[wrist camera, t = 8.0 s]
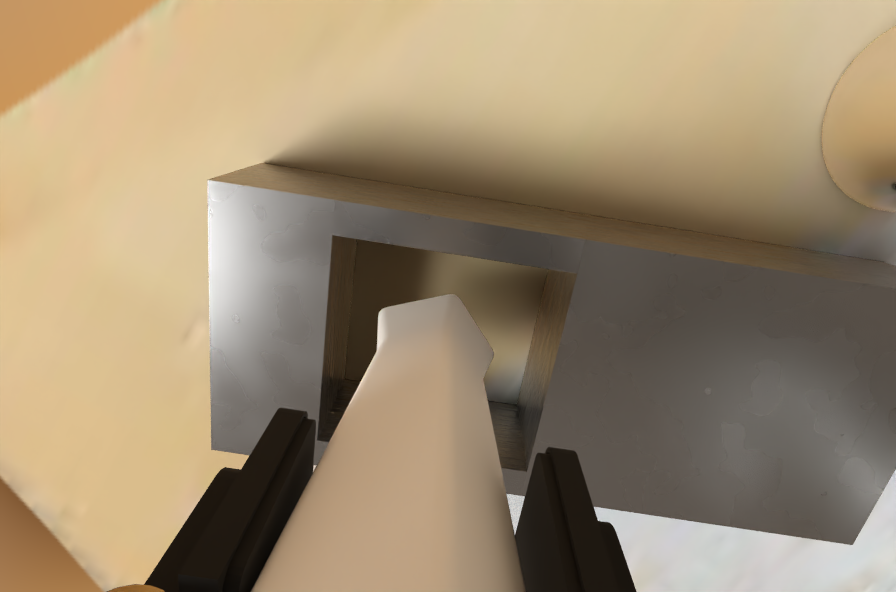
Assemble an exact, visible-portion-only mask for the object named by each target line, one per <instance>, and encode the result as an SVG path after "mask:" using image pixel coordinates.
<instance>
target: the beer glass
mask: <svg viewBox="0 0 896 592" xmlns="http://www.w3.org/2000/svg"><path fill="white" fill-rule="evenodd" d="M822 153H823V158H824V162H825V165H826V168H827V170H828V172H829V174H830V176H831V178H832V179H833V181H834V182H835V184H836V185H837V186H838V187H839V188H840V189H841V191H843V192H844V193H845V194H846V195H847V196H849V197H850V198H851V199H853V200H855V201H856V202H858V203H860V204H862V205H864V206H867V207H870V208H873V209H877V210H882V211H887V212H896V25H895V26H894V27H892V28H890V29H889V30H887V31H886V32H884V33H883V34H881V35H880V36H879V37H877V38H876V39H875V40H874V41H872V42H871V43H870V44H869V45H868V46H867V47H866V48H865V49H864V50H863V51H862V52H861V53H860V54H859V55H858V56H857V57H856V58H855V59H854V60H853V61H852V63H851V64H850V65H849V67H848V68H847V69H846V71H845V72H844V73H843V75H842V77H841V78H840V80H839V81H838V83H837V85H836V87H835V89H834V91H833V93H832V95H831V97H830V100H829V103H828V105H827V108H826V112H825V116H824V120H823V126H822Z"/></svg>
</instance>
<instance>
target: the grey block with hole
mask: <svg viewBox="0 0 896 592" xmlns="http://www.w3.org/2000/svg"><path fill="white" fill-rule="evenodd" d="M357 239H360V240H366V241H373V242H379V243H385V244H392V245H398V246H405V247H411V248H417V249H424V250H430V251H436V252H443V253H449V254H455V255H462V256H468V257H475V258H481V259H487V260H494V261H500V262H506V263H513V264H519V265H526V266H532V267H538V268H545V269H548V273H547V277H546V282H545V286H544V290H543V294H542V299H541V303H540V307H539V312H538V316H537V320H536V325H535V329H534V333H533V337H532V342H531V346H530V350H529V355H528V359H527V363H526V368H525V372H524V376H523V381H522V385H521V389H520V393H519V398H518V402H517V405H511V404H504V403H498V402H491V401H488V405H489V410H490V415H491V420H492V425H493V430H494V435H495V440H496V445H497V450H498V455H499V460H500V465H501V470H502V475H503V480H504V485H505V490H506V493H507V494H513V495H520V496H525V495H526V491H527V488H528V484H529V480H530V476H531V472H532V468H533V464H534V460H535V457H536V454H537V453H545V451H546V449H547V448H548V447H553V448H560V449H567V450H573V451H575V452H576V453H577V455H578V459H579V462H580V465H581V468H582V472H583V475H584V478H585V481H586V484H587V488H588V491H589V494H590V497H591V501H592V504H593V506H594V507H601V508H607V509H614V510H621V511H627V512H634V513H641V514H648V515H654V516H661V517H668V518H675V519H681V520H688V521H695V522H701V523H708V524H715V525H722V526H728V527H735V528H742V529H748V530H755V531H762V532H769V533H775V534H782V535H789V536H795V537H802V538H809V539H816V540H822V541H829V542H836V543H843V544H849V545H853V543H854V541H855V540H856V538H857V536H858V534H859V533H860V531H861V529H862V527H863V526H864V524H865V522H866V520H867V519H868V517H869V515H870V513H871V512H872V510H873V508H874V506H875V504H876V503H877V501H878V499H879V497H880V496H881V494H882V492H883V490H884V489H885V487H886V485H887V483H888V482H889V480H890V478H891V476H892V474H893V473H894V471H895V469H896V266H893V265H890V264H888V263H885V262H882V261H876V260H870V259H863V258H857V257H851V256H844V255H838V254H832V253H825V252H819V251H813V250H807V249H800V248H794V247H788V246H781V245H775V244H769V243H763V242H756V241H750V240H744V239H737V238H731V237H725V236H719V235H712V234H706V233H700V232H693V231H687V230H681V229H675V228H668V227H662V226H656V225H649V224H643V223H637V222H631V221H624V220H618V219H612V218H605V217H599V216H593V215H587V214H580V213H574V212H568V211H561V210H555V209H549V208H543V207H536V206H530V205H524V204H517V203H511V202H505V201H499V200H492V199H486V198H480V197H473V196H467V195H461V194H455V193H448V192H442V191H436V190H429V189H423V188H417V187H411V186H404V185H398V184H392V183H385V182H379V181H373V180H367V179H360V178H354V177H348V176H341V175H335V174H329V173H322V172H316V171H310V170H304V169H297V168H291V167H285V166H278V165H272V164H266V163H260V164H257V165H254V166H250V167H247V168H244V169H241V170H238V171H234V172H231V173H228V174H225V175H221V176H218V177H215V178H212V179H209V180H208V249H209V317H210V385H211V450H218V451H224V452H231V453H238V454H244V455H250V454H251V453H252V451H253V449H254V448H255V446H256V444H257V443H258V441H259V439H260V438H261V436H262V434H263V433H264V431H265V429H266V428H267V426H268V424H269V423H270V421H271V419H272V418H273V416H274V414H275V413H276V411H277V410H278V409H279V408H280V407H281V408H288V409H295V410H301V411H307V413H308V419H313V420H316V434H315V448H314V463H313V465H317V464H318V462H319V460H320V459H321V457H322V455H323V453H324V451H325V449H326V447H327V445H328V443H329V441H330V439H331V438H332V436H333V434H334V432H335V430H336V428H337V426H338V424H339V422H340V420H341V418H342V417H343V415H344V413H345V411H346V409H347V407H348V405H349V403H350V401H351V399H352V397H353V396H354V394H355V392H356V390H357V388H358V386H359V384H360V381H353V380H347V379H344V378H345V368H346V357H347V346H348V335H349V324H350V313H351V302H352V291H353V280H354V269H355V258H356V247H357Z"/></svg>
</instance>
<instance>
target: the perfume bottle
mask: <svg viewBox="0 0 896 592" xmlns="http://www.w3.org/2000/svg"><path fill="white" fill-rule="evenodd" d="M493 355H494V352H493V350H492V348H491V346H490V345H489V343H488V342H487V340H486V339H485V337H484V335H483V334H482V332H481V331H480V329H479V328H478V326H477V324H476V323H475V321H474V320H473V318H472V316H471V315H470V313H469V312H468V310H467V309H466V307H465V305H464V304H463V302H462V301H461V299H460V298H459V297H458V296H456V295H454V294H447V295H443V296H438V297H433V298H428V299H423V300H419V301H414V302H409V303H404V304H399V305H394V306H390V307H386V308H383V309H382V310H381V311H380V312H379V315H378V334H377V352H376V354H375V356H374V357H373V359H372V361H371V363H370V365H369V367H368V369H367V371H366V373H365V375H364V377H363V378H362V380H361V382H360V384H359V386H358V388H357V390H356V392H355V394H354V396H353V397H352V399H351V401H350V403H349V405H348V407H347V409H346V411H345V413H344V415H343V417H342V418H341V420H340V422H339V424H338V426H337V428H336V430H335V432H334V434H333V436H332V438H331V439H330V441H329V443H328V445H327V447H326V449H325V451H324V453H323V455H322V457H321V459H320V460H319V462H318V464H317V466H316V468H315V470H314V472H313V474H312V476H311V478H310V480H309V481H308V483H307V485H306V487H305V489H304V491H303V493H302V495H301V497H300V499H299V500H298V502H297V504H296V506H295V508H294V510H293V512H292V514H291V516H290V518H289V520H288V521H287V523H286V525H285V527H284V529H283V531H282V533H281V535H280V537H279V539H278V541H277V542H276V544H275V546H274V548H273V550H272V552H271V554H270V556H269V558H268V560H267V562H266V563H265V565H264V567H263V569H262V571H261V573H260V575H259V577H258V579H257V581H256V583H255V584H254V586H253V588H252V590H251V592H526V590H525V585H524V580H523V575H522V570H521V565H520V560H519V555H518V550H517V545H516V540H515V535H514V530H513V525H512V520H511V515H510V510H509V505H508V500H507V495H506V490H505V485H504V480H503V475H502V470H501V465H500V460H499V455H498V450H497V445H496V440H495V435H494V430H493V425H492V420H491V415H490V410H489V405H488V400H487V395H486V390H485V385H484V380H483V378H484V376H485V374H486V372H487V369H488V367H489V365H490V363H491V361H492V359H493Z"/></svg>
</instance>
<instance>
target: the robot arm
mask: <svg viewBox="0 0 896 592" xmlns="http://www.w3.org/2000/svg"><path fill="white" fill-rule="evenodd" d="M315 434H316V420H313V419H308V413H307V411H301V410H295V409H288V408H281V407H280V408H279V409H278V410H277V411H276V413H275V414H274V416H273V418H272V419H271V421H270V423H269V424H268V426H267V428H266V429H265V431H264V433H263V434H262V436H261V438H260V439H259V441H258V443H257V444H256V446H255V448H254V449H253V451H252V453H251V454H250V456H249V458H248V459H247V461H246V463H245V464H244V466H243V468H242V469H241V470H239V469H232V468H226V467H225V468H223V469H221V470H220V471H219V473H218V474H217V475H216V477H215V478H214V480H213V481H212V483H211V484H210V486H209V487H208V489H207V490H206V492H205V493H204V495H203V496H202V498H201V499H200V501H199V502H198V504H197V505H196V507H195V508H194V510H193V511H192V513H191V514H190V516H189V518H188V519H187V521H186V522H185V524H184V525H183V527H182V528H181V530H180V531H179V533H178V534H177V536H176V537H175V539H174V540H173V542H172V543H171V545H170V546H169V548H168V549H167V551H166V552H165V554H164V555H163V557H162V558H161V560H160V561H159V563H158V565H157V566H156V568H155V569H154V571H153V572H152V574H151V575H150V577H149V578H148V580H147V581H146V583H145V584H144V585H140V584H133V585H127V586H122V587H117V588H114V589H112V590H109V591H107V592H251V590H252V588H253V586H254V584H255V583H256V581H257V579H258V577H259V575H260V573H261V571H262V569H263V567H264V565H265V563H266V562H267V560H268V558H269V556H270V554H271V552H272V550H273V548H274V546H275V544H276V542H277V541H278V539H279V537H280V535H281V533H282V531H283V529H284V527H285V525H286V523H287V521H288V520H289V518H290V516H291V514H292V512H293V510H294V508H295V506H296V504H297V502H298V500H299V499H300V497H301V495H302V493H303V491H304V489H305V487H306V485H307V483H308V481H309V480H310V478H311V476H312V474H313V463H314V448H315ZM515 540H516V545H517V550H518V555H519V560H520V565H521V570H522V575H523V580H524V585H525V590H526V592H636V589H635V586H634V583H633V580H632V577H631V574H630V572H629V569H628V566H627V563H626V560H625V557H624V554H623V551H622V548H621V545H620V542H619V539H618V537H617V534H616V531H615V529H614V527H613V526H612V525H611V524H610V523H608V522H601V521H598V520H597V517H596V514H595V510H594V507H593V504H592V501H591V497H590V494H589V491H588V488H587V484H586V481H585V478H584V475H583V472H582V468H581V465H580V462H579V459H578V455H577V453H576V452H575V451H573V450H567V449H560V448H553V447H548V448H547V449H546V451H545V453H537V454H536V457H535V460H534V464H533V468H532V472H531V476H530V480H529V484H528V488H527V491H526V495H525V499H524V503H523V507H522V511H521V515H520V518H519V522H518V526H517V530H516V534H515Z"/></svg>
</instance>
